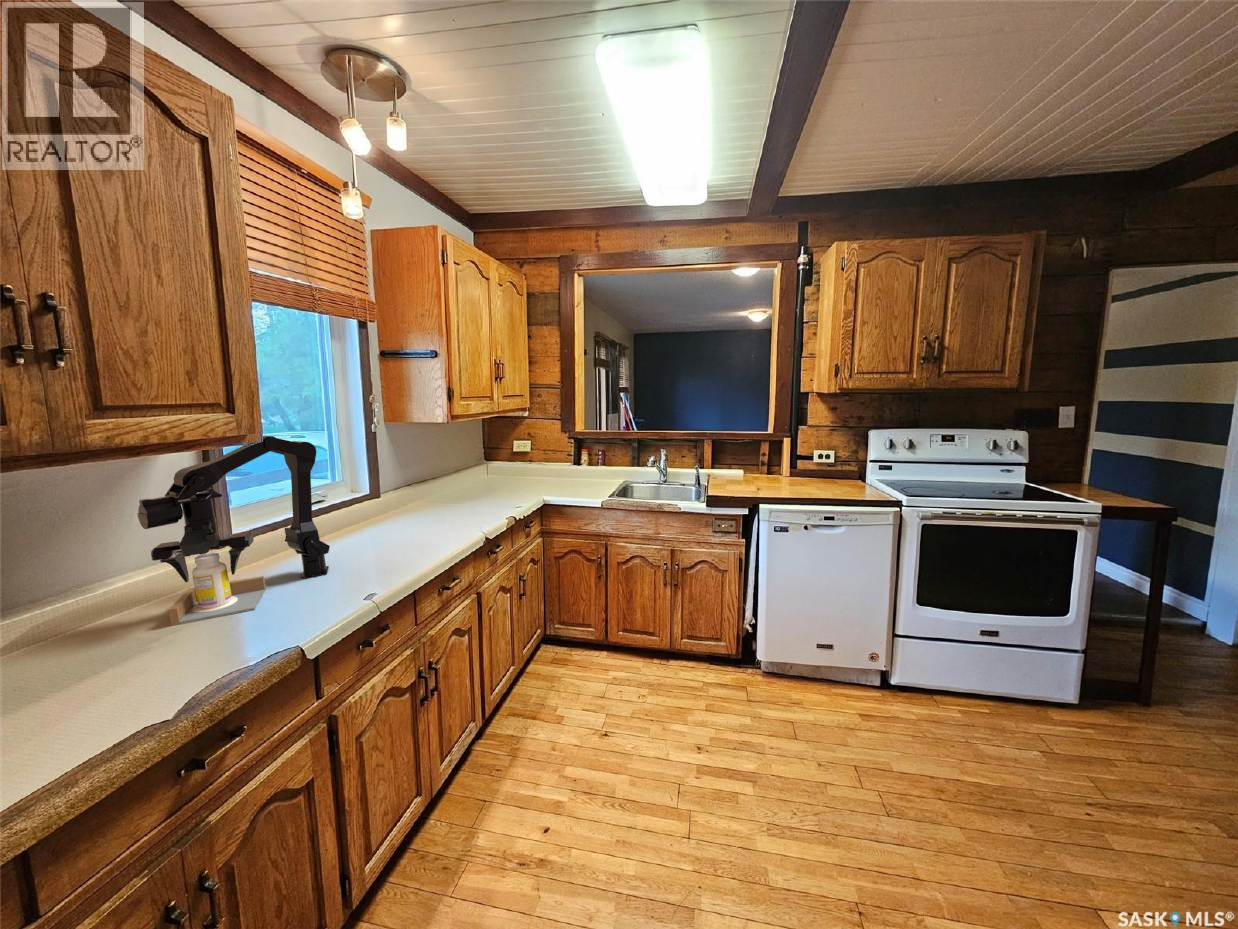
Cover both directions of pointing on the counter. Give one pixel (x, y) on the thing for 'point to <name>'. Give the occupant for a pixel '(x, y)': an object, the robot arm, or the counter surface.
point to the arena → (243, 600)
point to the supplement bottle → (211, 581)
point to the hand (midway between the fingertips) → (210, 577)
